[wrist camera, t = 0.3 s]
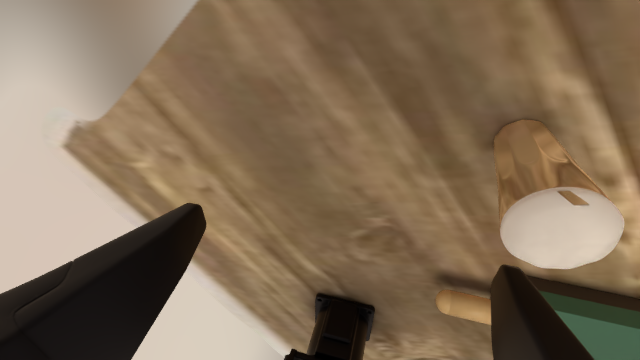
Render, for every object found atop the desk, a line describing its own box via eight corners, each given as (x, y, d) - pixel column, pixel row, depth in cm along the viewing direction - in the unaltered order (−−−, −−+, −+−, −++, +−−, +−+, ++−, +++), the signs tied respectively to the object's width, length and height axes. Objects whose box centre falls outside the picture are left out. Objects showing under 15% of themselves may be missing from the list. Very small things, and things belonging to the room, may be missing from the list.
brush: (759, 319, 24) (798, 367, 21) (700, 358, 28) (728, 403, 25) (443, 255, 29) (444, 287, 26) (428, 295, 32) (428, 328, 30)
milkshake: (570, 89, 19) (667, 202, 11) (559, 168, 21) (631, 302, 14) (480, 102, 20) (510, 207, 13) (481, 173, 23) (506, 295, 15)
